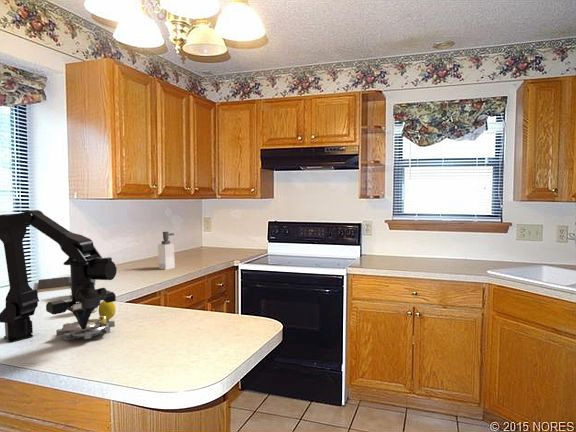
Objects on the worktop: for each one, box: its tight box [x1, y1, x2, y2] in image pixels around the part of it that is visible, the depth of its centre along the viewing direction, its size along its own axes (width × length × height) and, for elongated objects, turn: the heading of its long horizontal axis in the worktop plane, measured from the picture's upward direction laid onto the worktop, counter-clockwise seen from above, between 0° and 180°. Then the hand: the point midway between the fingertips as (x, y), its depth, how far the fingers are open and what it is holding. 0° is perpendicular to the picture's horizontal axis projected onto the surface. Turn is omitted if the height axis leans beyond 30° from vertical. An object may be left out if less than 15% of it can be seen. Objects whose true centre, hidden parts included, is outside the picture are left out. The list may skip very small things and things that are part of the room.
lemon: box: [98, 300, 116, 321], centre depth 146 cm, size 6×6×8 cm
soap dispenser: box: [157, 231, 176, 270], centre depth 244 cm, size 6×9×22 cm
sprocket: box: [55, 315, 116, 341], centre depth 131 cm, size 17×17×4 cm
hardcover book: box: [36, 275, 71, 293], centre depth 203 cm, size 16×23×2 cm
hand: (83, 328), depth 126 cm, fingers closed
